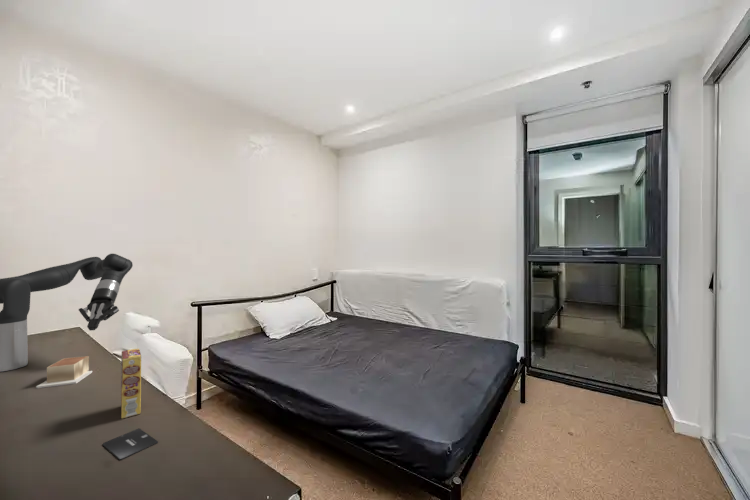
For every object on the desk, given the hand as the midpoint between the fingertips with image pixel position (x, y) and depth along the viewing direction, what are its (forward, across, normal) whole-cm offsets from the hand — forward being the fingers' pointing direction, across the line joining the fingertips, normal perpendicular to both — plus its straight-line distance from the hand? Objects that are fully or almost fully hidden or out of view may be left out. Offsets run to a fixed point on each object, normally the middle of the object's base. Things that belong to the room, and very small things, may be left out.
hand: (91, 329), depth 120 cm
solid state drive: (+56, -34, +36) cm, 75 cm away
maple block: (+13, +1, -1) cm, 13 cm away
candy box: (+43, -28, +24) cm, 57 cm away
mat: (+20, +1, +1) cm, 20 cm away
